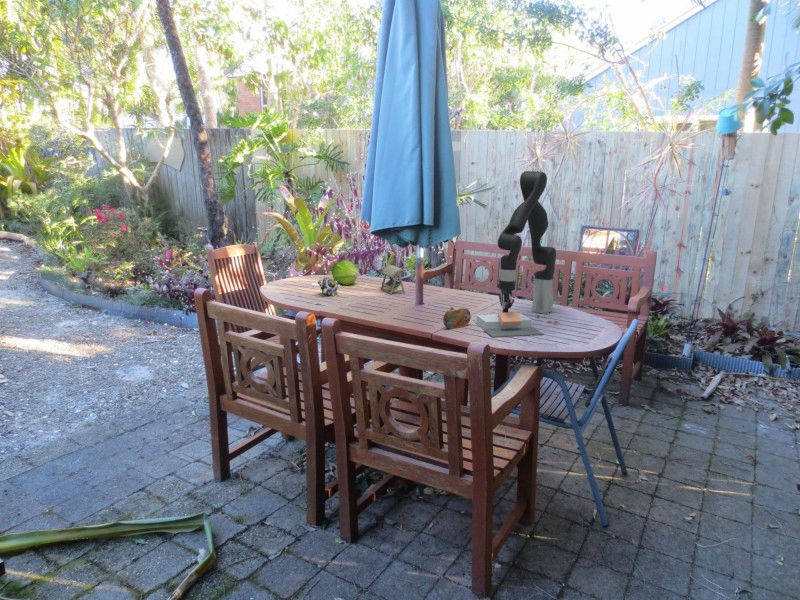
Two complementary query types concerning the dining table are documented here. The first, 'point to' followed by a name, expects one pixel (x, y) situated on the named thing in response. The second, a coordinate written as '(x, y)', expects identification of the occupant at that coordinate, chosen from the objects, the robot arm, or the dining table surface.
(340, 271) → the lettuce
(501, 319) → the peach rectangular block
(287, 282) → the dining table surface
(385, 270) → the swing bench
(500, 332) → the mat
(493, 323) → the plate
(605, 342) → the dining table surface
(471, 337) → the dining table surface
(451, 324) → the tin
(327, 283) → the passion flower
